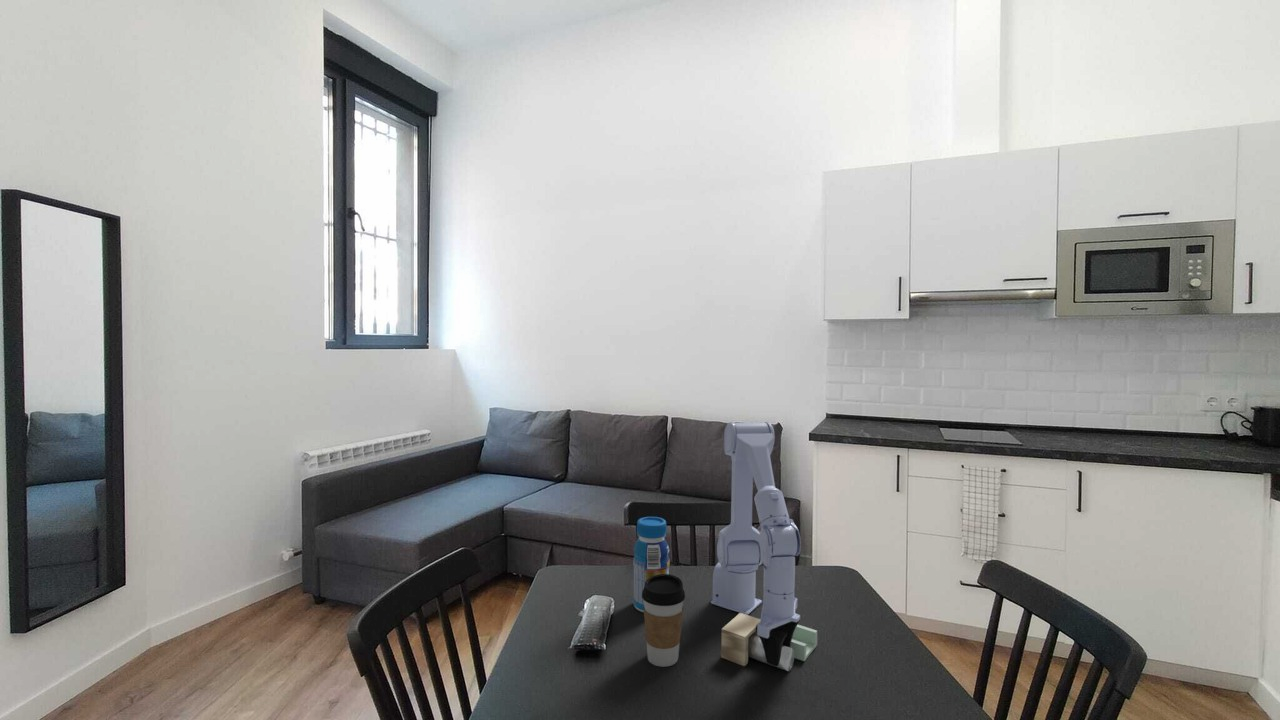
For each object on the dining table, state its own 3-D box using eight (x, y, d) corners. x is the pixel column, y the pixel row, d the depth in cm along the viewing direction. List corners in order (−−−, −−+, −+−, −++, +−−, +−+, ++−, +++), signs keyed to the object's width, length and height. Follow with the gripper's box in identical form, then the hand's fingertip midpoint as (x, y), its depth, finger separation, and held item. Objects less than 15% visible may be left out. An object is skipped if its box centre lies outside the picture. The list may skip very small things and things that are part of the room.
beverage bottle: (625, 608, 131) (626, 522, 130) (645, 594, 138) (646, 512, 137) (657, 618, 126) (657, 529, 125) (676, 603, 133) (676, 519, 132)
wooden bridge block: (721, 657, 111) (721, 628, 111) (739, 639, 118) (740, 612, 117) (744, 666, 108) (745, 637, 108) (762, 647, 115) (762, 620, 114)
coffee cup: (689, 650, 114) (690, 576, 113) (678, 674, 106) (678, 595, 105) (649, 643, 116) (649, 570, 116) (635, 665, 108) (635, 588, 108)
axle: (727, 653, 113) (728, 633, 112) (737, 644, 116) (737, 625, 116) (786, 675, 106) (786, 654, 105) (794, 665, 109) (794, 644, 109)
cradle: (760, 646, 115) (761, 631, 115) (775, 631, 121) (775, 617, 121) (804, 661, 110) (804, 646, 110) (817, 645, 116) (817, 630, 116)
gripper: (784, 609, 100) (782, 684, 100) (812, 580, 111) (811, 648, 112) (747, 597, 104) (746, 670, 105) (778, 571, 116) (777, 636, 116)
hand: (777, 658), depth 109 cm, fingers closed on axle, 4 cm apart
